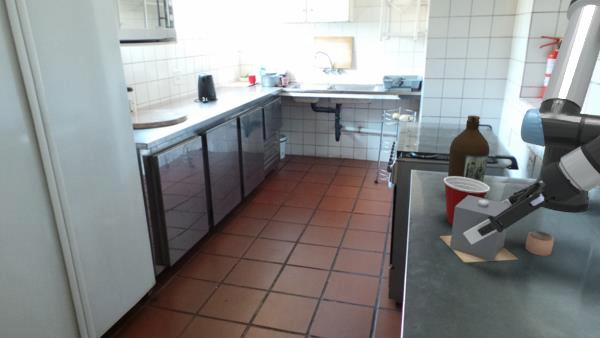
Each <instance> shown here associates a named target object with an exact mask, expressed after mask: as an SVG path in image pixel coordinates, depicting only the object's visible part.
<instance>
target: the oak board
mask: <svg viewBox="0 0 600 338" xmlns="http://www.w3.org/2000/svg"><path fill="white" fill-rule="evenodd" d="M439 238H440V239H441V240H442V241H443V242H444V243H445V244H446V245H447V246H448V247H449V248H450V241H451V235H439ZM451 250H452V251H453V252H454V253H455V254H456V255H457V256H458V257H459V258H460V259H461V261H462V262H463V263H479V262H481V263H482V262H490V261H489V260H486V259H482V258H479V257H476V256H473V255H469V254H466V253H463V252H460V251H456V250H453V249H451ZM517 260H518V261H519V258H517V257H516V256H515V255H514V254H513V253H511V251H509V250H508V249H507V248H506V247H504V246H503V247H502V249H501V250H500V252H499V253H498V255H497V256H496V257H495V259H494V260H493V262H498V261H499V262H500V261H517Z"/></svg>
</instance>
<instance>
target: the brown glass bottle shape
mask: <svg viewBox="0 0 600 338" xmlns="http://www.w3.org/2000/svg"><path fill="white" fill-rule="evenodd" d="M480 118H481V117H480V116H479V115H474V114H473V115H468V116H467V120H466V124H465V129H463V131H462V132H460V133H459V134H458V135H456V136H455V137H454V138H453V140H452V142H450V147H449V154H448V155H449V157H448V168H447V169H448V172H447V177H450V176H458V177H466V178H471V179H474V180H477V181H480V182H483V183H484V180H485V179H484V178H485V173H486V169H487V164H488V160H489V156H490V144H489V142H488V140H487V139H486V138H485V137H484V135H483V134H482V133H481V131H480V129H479V128H480Z"/></svg>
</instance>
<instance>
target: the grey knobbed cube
mask: <svg viewBox="0 0 600 338" xmlns="http://www.w3.org/2000/svg"><path fill="white" fill-rule="evenodd" d="M510 206H511V205H510V204H506V203H502V201H501V202H500V201H498V200H492V199H487V198H485V197H484V198H479V197H475V196H470V195H468V196H467V197H466V198H464V199H463V200H462V201H461V202H460V203H459V204H457V205H456V206H455V211H454V219H453V225H451V227H452V228H451V234H450V236H451V241H450V247H449V249H451V250H452V249H453V250H456V251H460V252H463V253H466V254H469V255H473V256H476V257H479V258H482V259H486V260H489V261H488V262H494V261H493V260H494V259H495V257H496V256H497V255H498V253H499V252H500V250H501V249H502V247H504V245H505V239H506V234H507V229H508V228H506V229H504V230H503V231H502V232H500V233H498V231H497V232H495V233H493V234H491V235H489V236H487V237H485V238H483V239H481V240H479V241H477V242H476V243H474V244H472V245H471V243H470V242H469V241H468V239H467V238H466V237H465V235H464V234H463V233H464V232H466V231H468V230H469V229H471V228H473V227H475V226H477V225H478V224H480V223H482V222H484V221H486V220H488V216H490V215H491V216H492V217H493V218H494V217H495V216H497V215H498V214H500V213H501V212H502V211H504V210H505V209H507V208H508V207H510ZM500 224H501V223H500ZM501 225H502V224H501ZM453 250H452V251H453Z"/></svg>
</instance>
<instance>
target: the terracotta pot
mask: <svg viewBox="0 0 600 338" xmlns="http://www.w3.org/2000/svg"><path fill="white" fill-rule="evenodd" d="M554 241H555V238H554V236H553V235H551V234H548V233H546V232H543V231H538V230H534V231H529V232H528V233H527V238H526V243H525V250H526V251H527V252H528V253H531V254H534V255H538V256H547V257H548V256H550V255H552V251H553V248H554V247H553V246H554V243H555V242H554Z"/></svg>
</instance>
